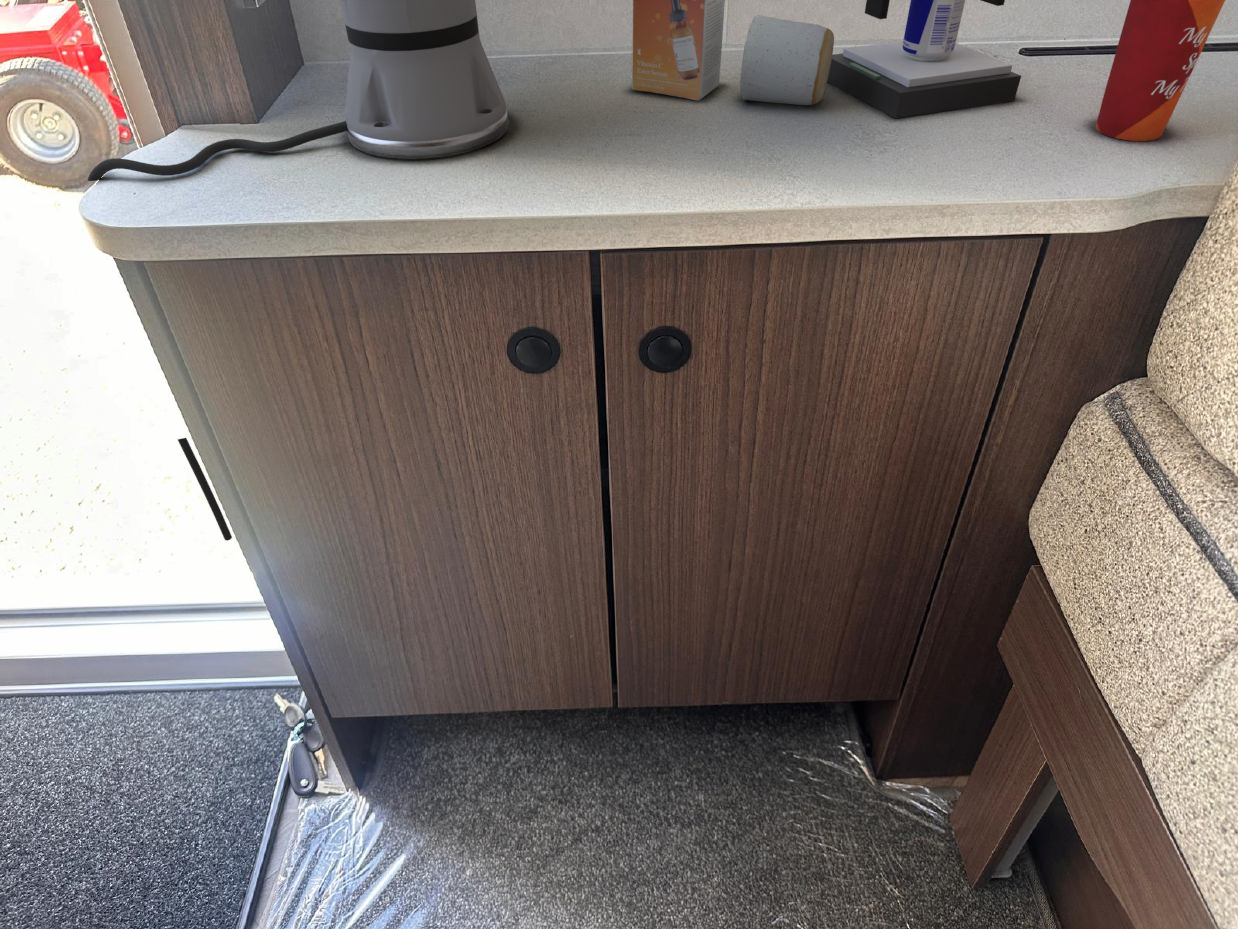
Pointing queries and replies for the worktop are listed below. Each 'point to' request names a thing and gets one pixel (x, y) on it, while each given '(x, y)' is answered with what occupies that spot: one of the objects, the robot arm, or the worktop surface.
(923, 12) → the beverage can
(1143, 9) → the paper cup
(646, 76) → the small box
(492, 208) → the worktop surface
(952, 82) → the scale
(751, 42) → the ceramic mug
